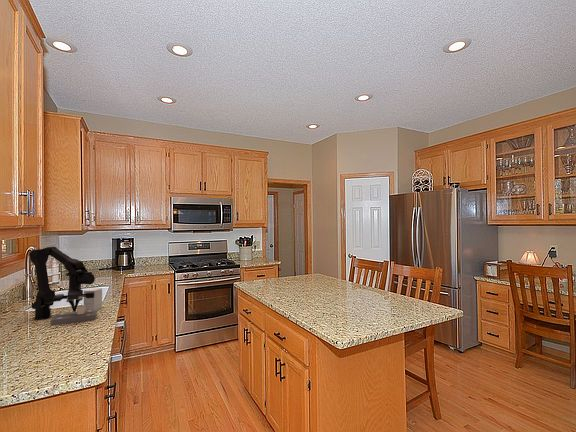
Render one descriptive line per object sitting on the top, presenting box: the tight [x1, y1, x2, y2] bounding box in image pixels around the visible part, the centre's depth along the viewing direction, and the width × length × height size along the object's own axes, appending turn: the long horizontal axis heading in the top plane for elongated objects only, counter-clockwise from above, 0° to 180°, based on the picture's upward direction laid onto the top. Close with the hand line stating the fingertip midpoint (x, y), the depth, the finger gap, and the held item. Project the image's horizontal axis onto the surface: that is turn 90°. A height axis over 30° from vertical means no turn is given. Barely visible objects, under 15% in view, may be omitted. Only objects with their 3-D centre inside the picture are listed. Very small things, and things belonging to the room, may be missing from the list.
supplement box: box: [83, 287, 103, 311], centre depth 194 cm, size 7×7×13 cm
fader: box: [77, 303, 85, 315], centre depth 175 cm, size 3×5×4 cm, turn 28°
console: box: [50, 310, 98, 326], centre depth 173 cm, size 20×12×3 cm, turn 118°
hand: (74, 311), depth 173 cm, fingers closed
